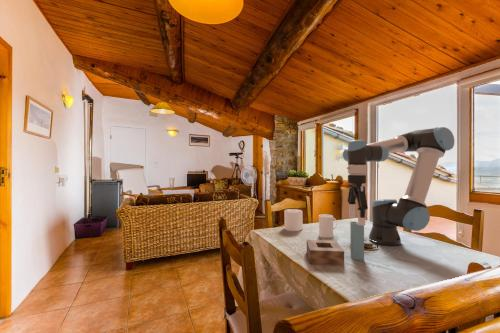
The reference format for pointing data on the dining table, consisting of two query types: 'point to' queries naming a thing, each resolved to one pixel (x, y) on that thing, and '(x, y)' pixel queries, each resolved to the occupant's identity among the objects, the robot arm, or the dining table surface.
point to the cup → (293, 220)
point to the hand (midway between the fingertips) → (356, 221)
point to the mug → (326, 225)
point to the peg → (357, 241)
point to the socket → (325, 252)
